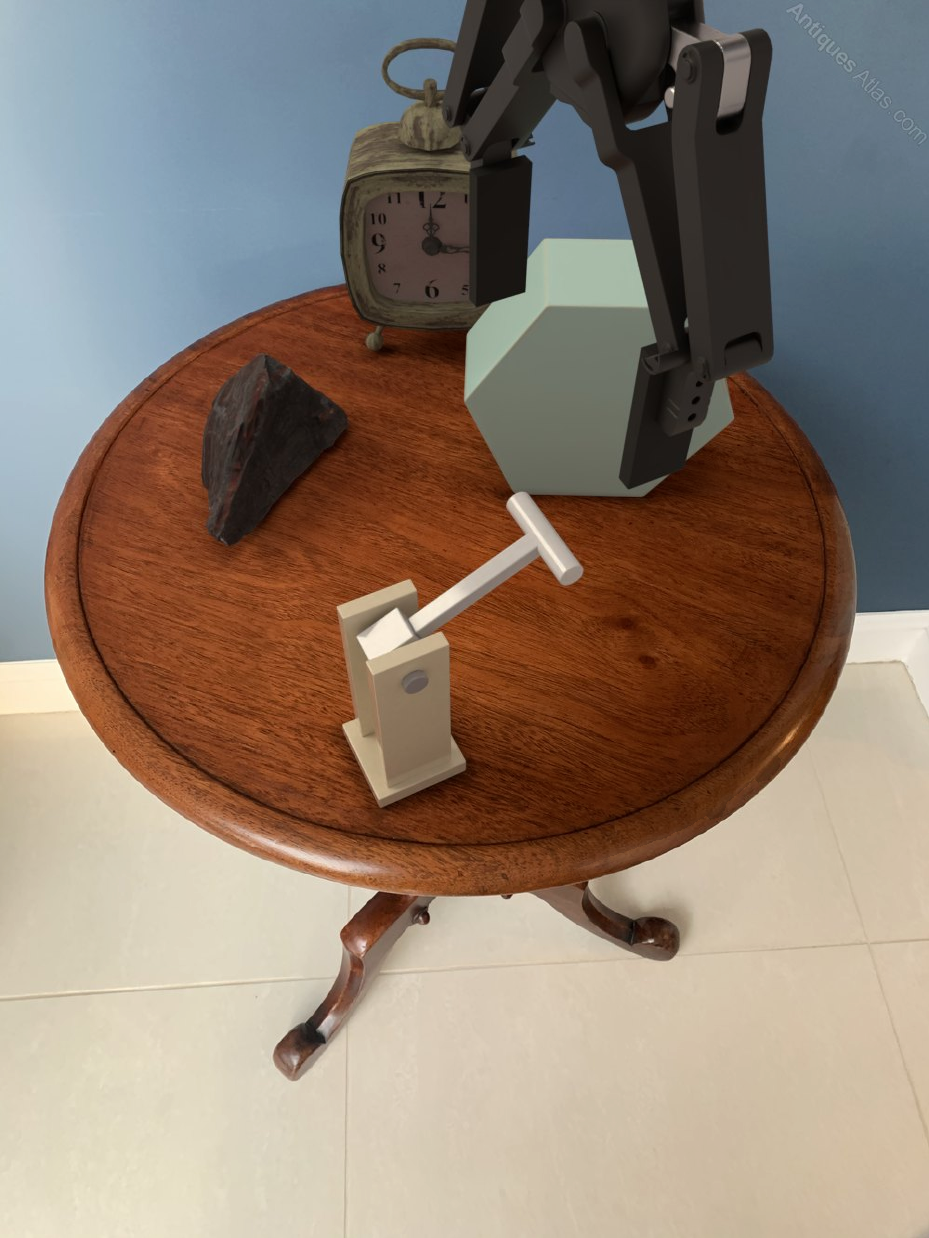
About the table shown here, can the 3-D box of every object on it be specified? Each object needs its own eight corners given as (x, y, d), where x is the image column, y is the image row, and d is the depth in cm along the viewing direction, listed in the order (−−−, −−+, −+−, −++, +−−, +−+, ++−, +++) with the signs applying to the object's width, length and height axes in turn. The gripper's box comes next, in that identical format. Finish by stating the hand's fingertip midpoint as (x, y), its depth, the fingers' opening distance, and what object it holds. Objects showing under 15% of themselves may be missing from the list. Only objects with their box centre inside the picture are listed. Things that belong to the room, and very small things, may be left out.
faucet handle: (534, 504, 55) (520, 482, 53) (589, 578, 52) (576, 558, 50) (362, 627, 56) (342, 611, 54) (405, 707, 53) (385, 693, 51)
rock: (359, 423, 81) (349, 332, 74) (232, 568, 72) (206, 481, 65) (286, 395, 84) (270, 304, 76) (154, 533, 74) (120, 444, 67)
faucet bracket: (426, 698, 65) (419, 566, 54) (466, 770, 62) (467, 645, 51) (343, 733, 64) (318, 604, 53) (380, 808, 61) (362, 688, 49)
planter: (593, 469, 85) (776, 300, 71) (598, 536, 80) (795, 369, 66) (428, 381, 78) (595, 173, 64) (423, 448, 73) (602, 240, 59)
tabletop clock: (352, 362, 86) (319, 64, 66) (361, 300, 92) (333, 7, 72) (515, 365, 86) (533, 67, 66) (515, 303, 92) (530, 10, 71)
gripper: (334, -317, 32) (380, 255, 49) (812, -62, 19) (650, 603, 36) (531, -339, 34) (510, 218, 51) (1090, -122, 21) (812, 535, 38)
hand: (567, 378), depth 44 cm, fingers open, 13 cm apart
